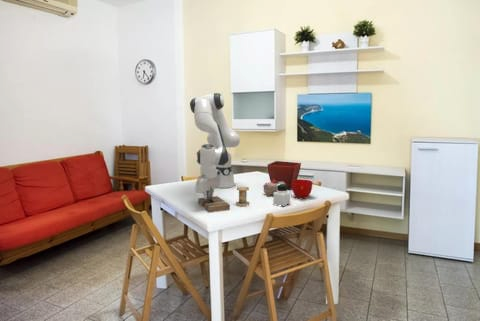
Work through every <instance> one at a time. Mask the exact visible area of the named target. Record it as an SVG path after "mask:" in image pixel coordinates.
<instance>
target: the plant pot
mask: <svg viewBox="0 0 480 321" xmlns="http://www.w3.org/2000/svg"><path fill="white" fill-rule="evenodd" d="M301 166H302V162H295V161H294V162H293V161H282V160H274V161H272V162H270V163H268V164H267V171H268V176H269V177H268V178H269V182H271V181H272V180H277V181H278V182H284V183H285V184H286V185H287V191H288V190H289V191H290V190H292V181H293V180H298V178H299V175H300V170H301Z"/></svg>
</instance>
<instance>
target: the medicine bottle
mask: <svg viewBox="0 0 480 321" xmlns="http://www.w3.org/2000/svg"><path fill="white" fill-rule="evenodd" d="M272 203H273V204H272V205H274V204H276V205H275V206H278V205H281V206H280V207H282V206H284V207H286V206H288V205H287V204H289V205H290V204H291V192H288V189H287V185H286V184H278V185H277V192H275V193H274V196H273V202H272ZM285 205H286V206H285Z"/></svg>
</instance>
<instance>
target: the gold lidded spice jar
mask: <svg viewBox="0 0 480 321" xmlns="http://www.w3.org/2000/svg"><path fill="white" fill-rule="evenodd" d="M206 194H207V195H208V198H207V199H205V204H207V203H212V197H213V196H212V185H210V190H208V191H207V193H206Z"/></svg>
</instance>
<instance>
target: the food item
mask: <svg viewBox="0 0 480 321" xmlns="http://www.w3.org/2000/svg"><path fill="white" fill-rule="evenodd" d="M278 184H285V183H284V182H278V181H277V180H272V181H269V182H265V183H264V184H263V186H262V187H263V193H264V194H265V195H266V196H267V197H274V193H275V192H277V185H278Z"/></svg>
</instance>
